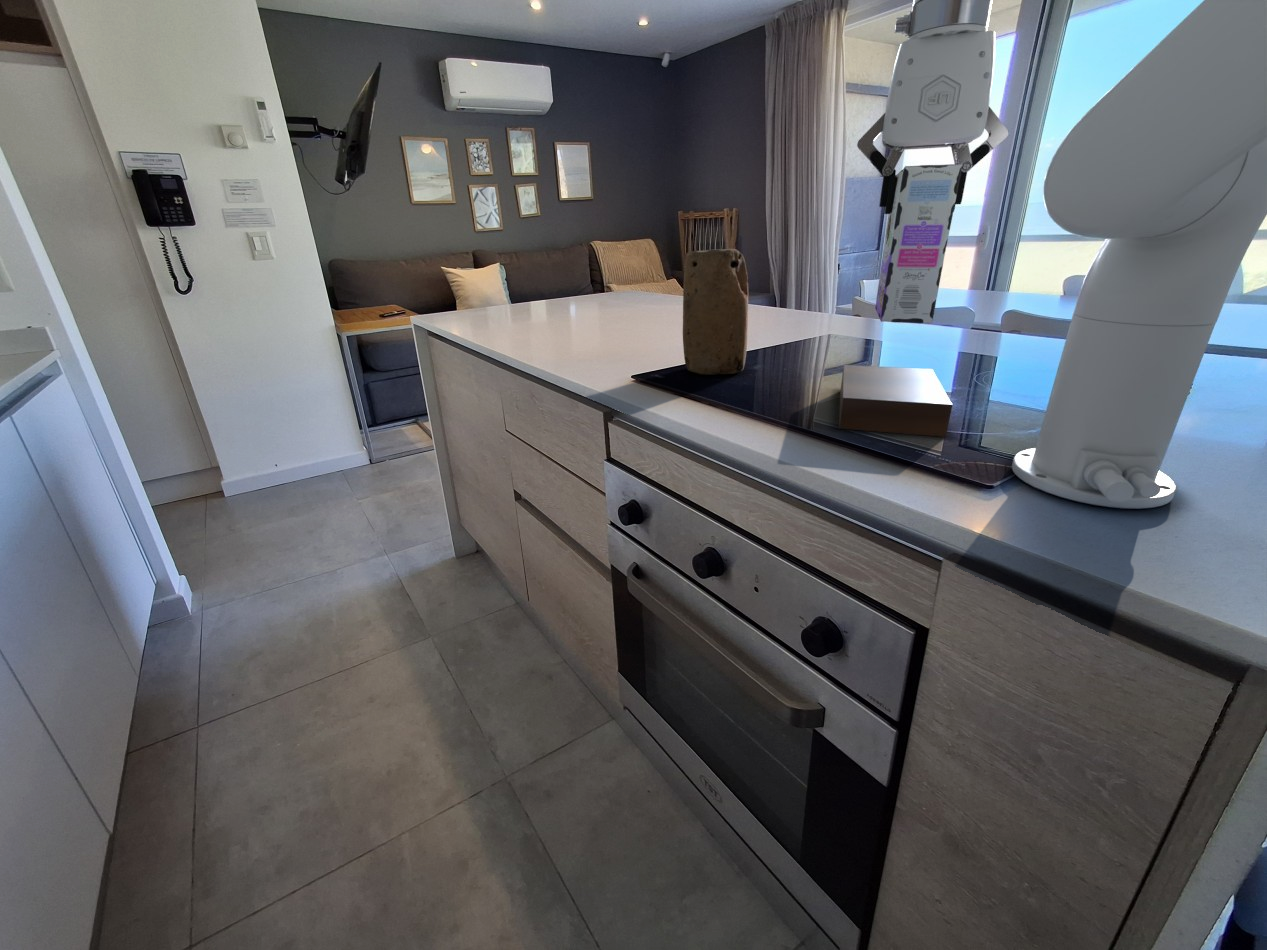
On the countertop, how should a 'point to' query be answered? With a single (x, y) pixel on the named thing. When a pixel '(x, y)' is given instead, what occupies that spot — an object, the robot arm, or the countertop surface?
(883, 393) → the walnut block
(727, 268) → the block
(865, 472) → the countertop surface
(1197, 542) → the countertop surface
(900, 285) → the candy box
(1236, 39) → the robot arm
